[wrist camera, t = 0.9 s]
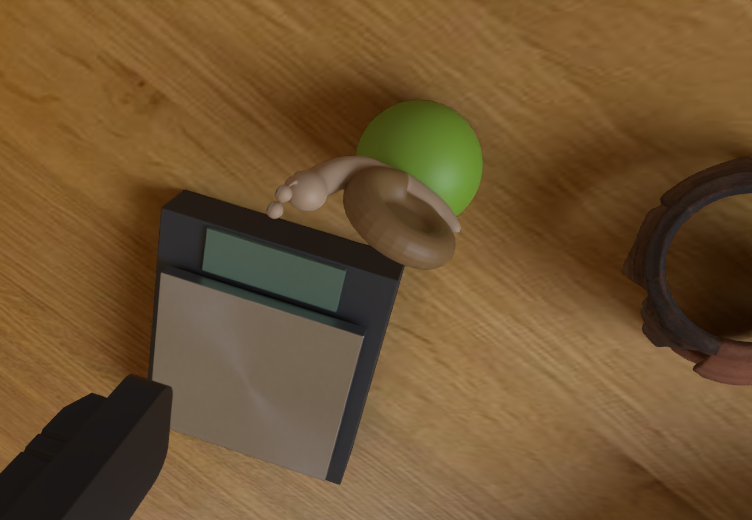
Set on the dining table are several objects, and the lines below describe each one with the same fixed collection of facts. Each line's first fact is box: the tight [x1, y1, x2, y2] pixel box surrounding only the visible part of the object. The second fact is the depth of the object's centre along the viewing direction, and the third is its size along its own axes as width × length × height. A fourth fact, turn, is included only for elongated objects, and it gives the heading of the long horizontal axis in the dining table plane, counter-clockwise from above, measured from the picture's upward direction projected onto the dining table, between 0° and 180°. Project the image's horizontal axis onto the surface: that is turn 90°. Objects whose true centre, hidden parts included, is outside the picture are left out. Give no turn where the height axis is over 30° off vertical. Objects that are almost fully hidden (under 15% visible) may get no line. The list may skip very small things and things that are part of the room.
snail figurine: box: [267, 100, 483, 270], centre depth 26 cm, size 5×6×12 cm
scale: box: [148, 190, 405, 485], centre depth 37 cm, size 14×12×3 cm
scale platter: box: [152, 266, 367, 481], centre depth 36 cm, size 10×10×1 cm
